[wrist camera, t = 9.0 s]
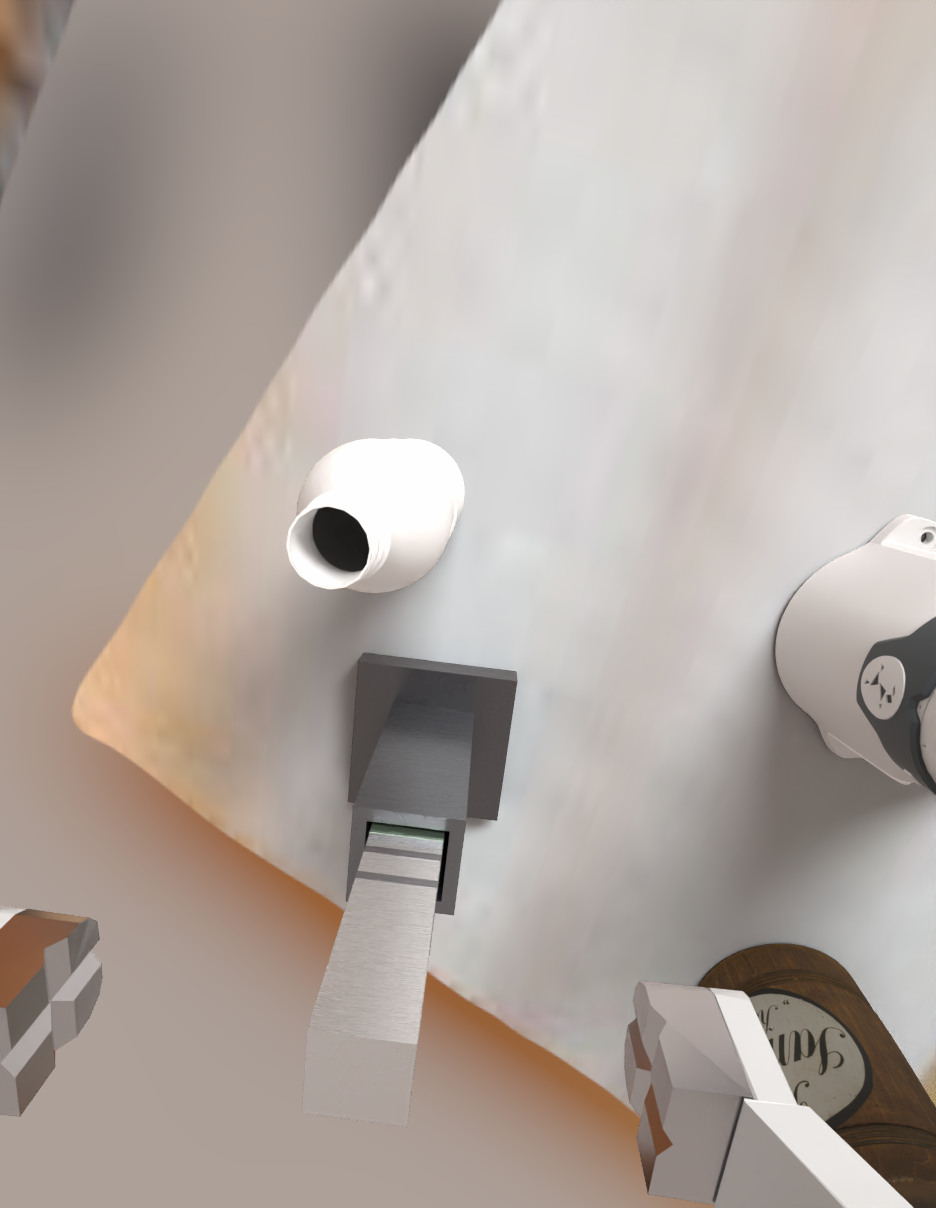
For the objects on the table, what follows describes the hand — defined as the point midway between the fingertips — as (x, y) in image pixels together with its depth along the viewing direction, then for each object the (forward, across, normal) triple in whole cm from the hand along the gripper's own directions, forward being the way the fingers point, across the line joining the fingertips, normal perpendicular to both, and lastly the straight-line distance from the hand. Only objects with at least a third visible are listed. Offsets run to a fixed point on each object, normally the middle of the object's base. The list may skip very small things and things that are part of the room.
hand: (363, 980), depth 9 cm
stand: (+38, +2, +15) cm, 41 cm away
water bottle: (+38, +4, -4) cm, 39 cm away
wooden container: (+38, -31, +39) cm, 63 cm away
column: (+30, +2, +15) cm, 34 cm away
